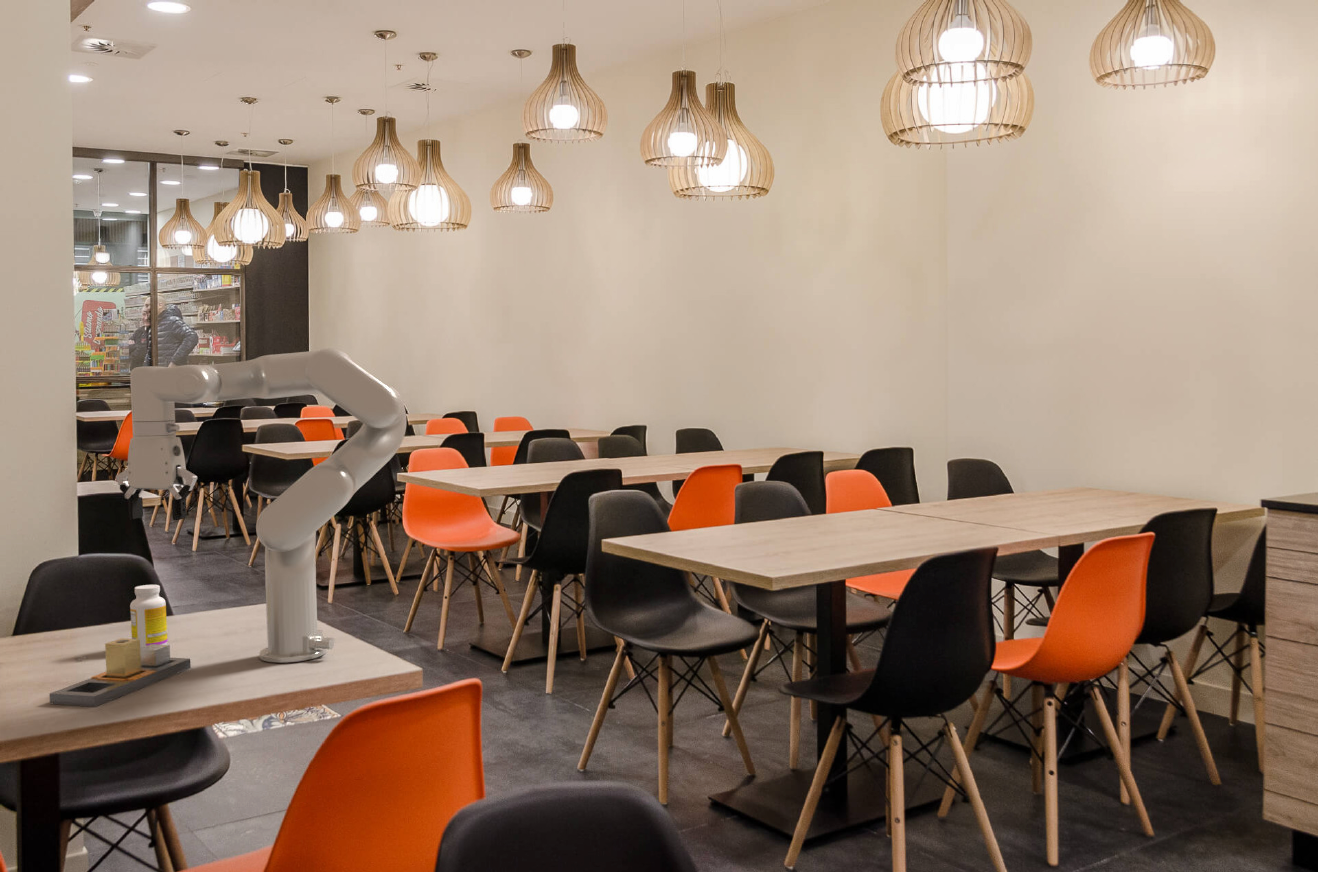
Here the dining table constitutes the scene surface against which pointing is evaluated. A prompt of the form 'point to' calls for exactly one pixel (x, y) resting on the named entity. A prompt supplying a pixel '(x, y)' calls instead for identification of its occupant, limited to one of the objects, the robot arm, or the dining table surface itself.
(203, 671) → the dining table surface
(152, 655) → the block
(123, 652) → the brass nut
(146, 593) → the supplement bottle
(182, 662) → the rail
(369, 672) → the dining table surface
